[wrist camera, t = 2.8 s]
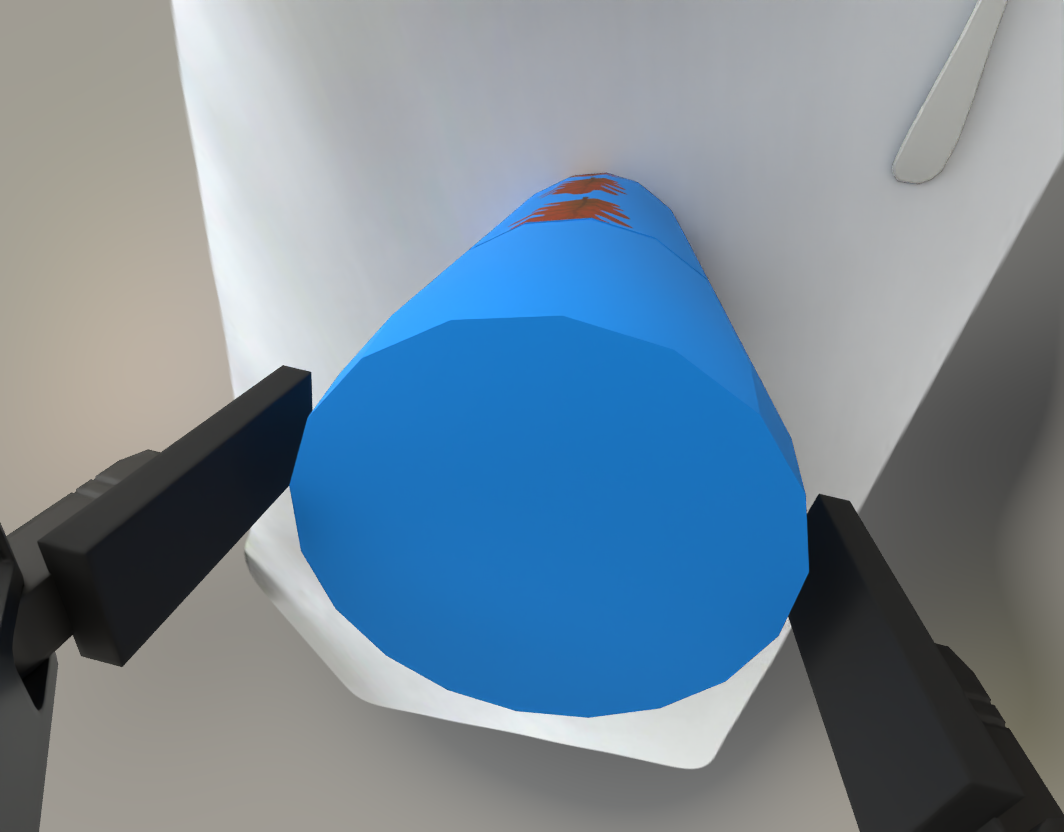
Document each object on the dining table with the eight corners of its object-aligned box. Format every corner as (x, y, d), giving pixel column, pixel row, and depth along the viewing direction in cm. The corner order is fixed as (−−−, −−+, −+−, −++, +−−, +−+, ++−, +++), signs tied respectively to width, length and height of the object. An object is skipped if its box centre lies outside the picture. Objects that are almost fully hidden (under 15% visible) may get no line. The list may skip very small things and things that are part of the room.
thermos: (663, 360, 35) (729, 758, 13) (502, 338, 36) (316, 676, 14) (704, 178, 29) (931, 349, 8) (513, 158, 30) (236, 260, 9)
